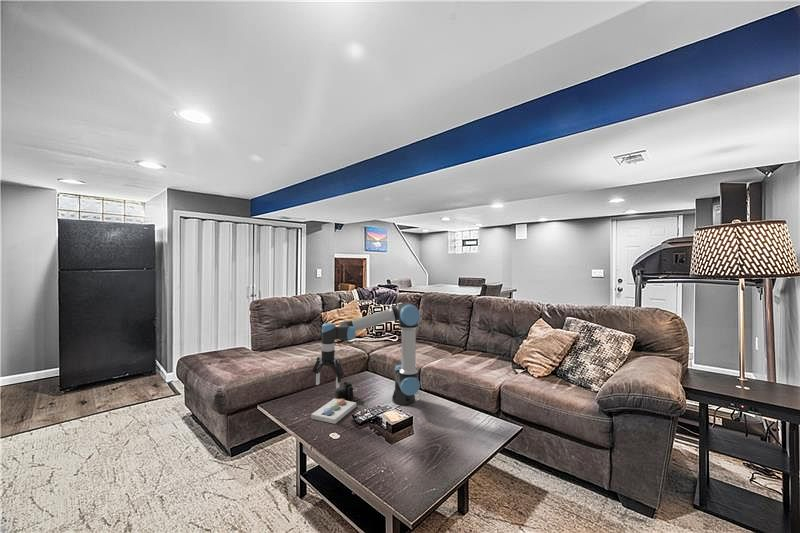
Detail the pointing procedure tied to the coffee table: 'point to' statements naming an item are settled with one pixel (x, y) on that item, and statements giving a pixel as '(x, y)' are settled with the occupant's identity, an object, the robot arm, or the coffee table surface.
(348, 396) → the camera
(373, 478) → the coffee table surface
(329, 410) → the button slate
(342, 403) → the button terracotta
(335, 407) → the button sage
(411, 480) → the coffee table surface
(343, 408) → the panel
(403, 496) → the coffee table surface
